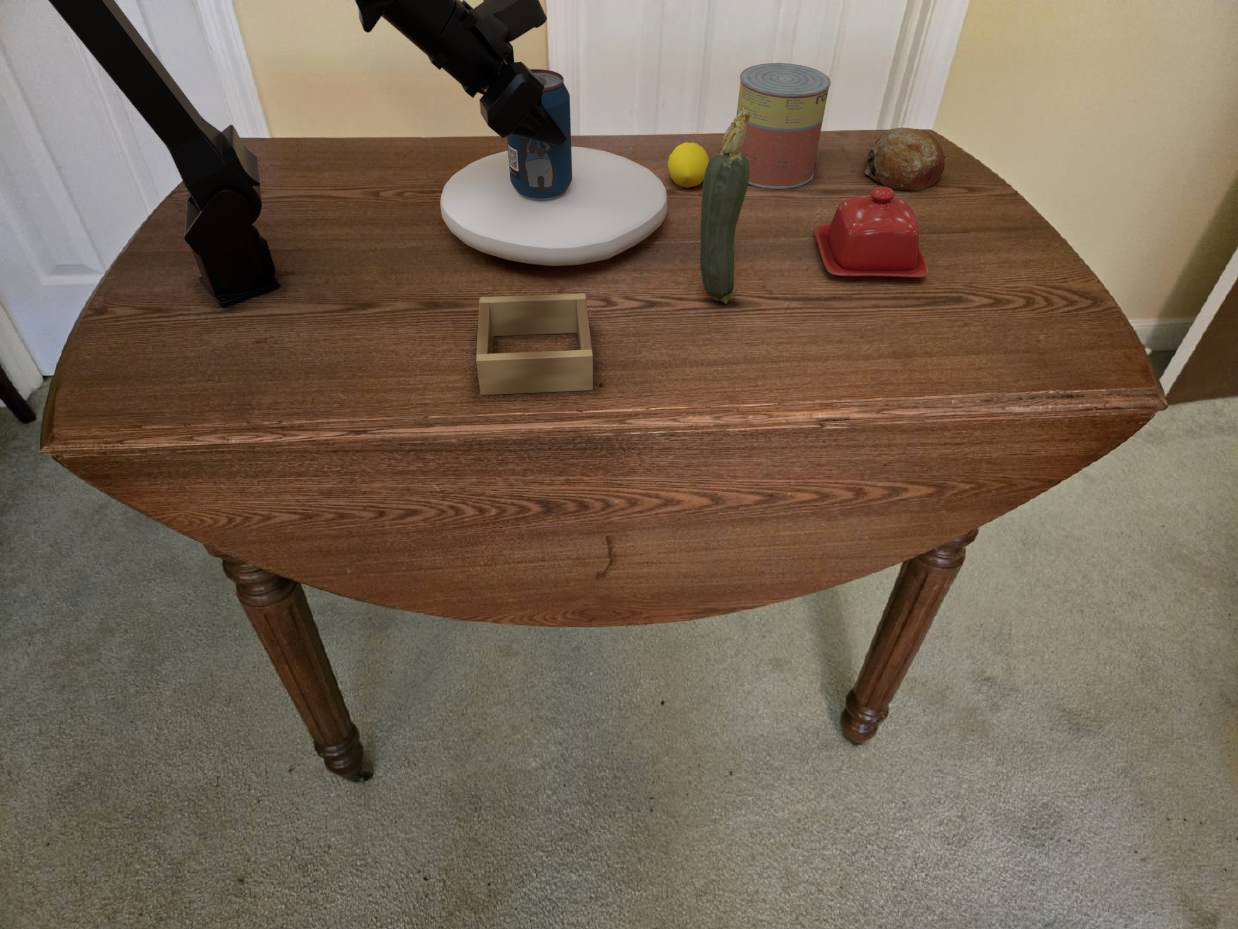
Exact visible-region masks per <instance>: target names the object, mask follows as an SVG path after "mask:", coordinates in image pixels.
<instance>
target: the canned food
mask: <svg viewBox="0 0 1238 929" xmlns="http://www.w3.org/2000/svg"><path fill="white" fill-rule="evenodd" d="M739 79H740V80H739V81H740V82H739V90H738V99H737V108H736V116H737V115H738V114H739V112H741V111H742V108H743V107H746V109H747V110H749V111H750V113H751V114H750V115H751V116H750V119H749V121H747V124H746V134H745V139H744V143H743V145H742V147H740V149H739V151H740V152H741V153H743V154H744V156H745V157H746V158H747V160H748V163H749V169H750V172H749V182H748V185H749V186H753V187H757V188H762V189H767V190H769V189H770V190H789V189H795V188H798V187H802V186H804V185H806V184H808V183H809V182H810V181H811V180H813V178H814V174H815V172H814V170H815V164H816V160H817V154H818V149H819V143H820V137H821V132H822V127H823V123H824V122H823V121H824V116H825V111H826V105H827V100H828V95H829V89H830V87H831V83H832V82H831V79H830V77H829V76H828V75H827V74H826V73H824V72H822V71H820V70H818V69H816V68H813V67H810V66H805V65H802V64H795V63H784V62H767V63H760V64H756V65H751V66H749V67H747V68H745V69H743V70H742V71H741V72H740V75H739Z"/></svg>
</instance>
